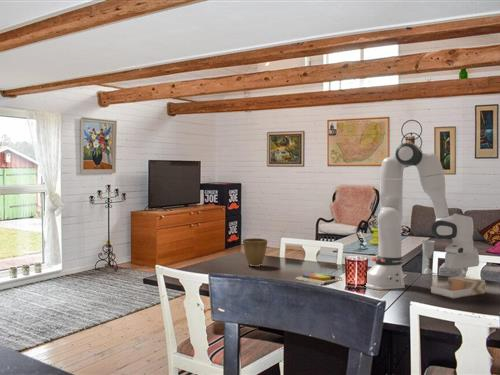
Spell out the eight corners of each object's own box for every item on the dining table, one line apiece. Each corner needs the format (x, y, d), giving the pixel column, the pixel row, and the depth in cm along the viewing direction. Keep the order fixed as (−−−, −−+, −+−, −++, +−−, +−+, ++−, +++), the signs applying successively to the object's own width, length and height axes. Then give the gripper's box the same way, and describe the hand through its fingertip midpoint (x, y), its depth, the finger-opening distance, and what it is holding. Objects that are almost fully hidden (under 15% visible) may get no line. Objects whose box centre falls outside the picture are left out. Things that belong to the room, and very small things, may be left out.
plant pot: (238, 265, 288) (238, 239, 288) (260, 263, 295) (260, 237, 294) (248, 269, 275) (249, 241, 275) (271, 267, 281) (271, 240, 281)
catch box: (453, 298, 208) (453, 291, 208) (430, 292, 219) (431, 286, 219) (470, 295, 214) (470, 288, 214) (448, 290, 225) (448, 283, 225)
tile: (463, 293, 217) (460, 293, 215) (454, 289, 221) (451, 289, 220) (465, 282, 216) (461, 283, 215) (456, 279, 220) (452, 279, 219)
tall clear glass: (425, 274, 263) (425, 242, 263) (418, 271, 270) (419, 240, 269) (437, 273, 264) (437, 241, 264) (430, 271, 271) (430, 240, 271)
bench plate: (470, 295, 214) (470, 282, 214) (448, 290, 225) (448, 277, 225) (484, 293, 219) (484, 280, 219) (462, 287, 229) (462, 275, 229)
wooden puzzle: (342, 280, 247) (342, 274, 247) (323, 286, 233) (323, 279, 233) (315, 276, 259) (315, 269, 259) (294, 281, 245) (294, 274, 245)
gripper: (471, 245, 228) (470, 274, 228) (442, 248, 218) (442, 277, 218) (483, 247, 222) (482, 276, 223) (454, 250, 213) (453, 280, 213)
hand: (462, 277), depth 220 cm, fingers closed
